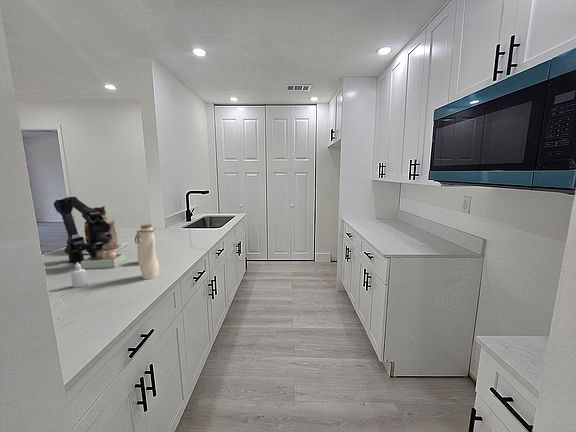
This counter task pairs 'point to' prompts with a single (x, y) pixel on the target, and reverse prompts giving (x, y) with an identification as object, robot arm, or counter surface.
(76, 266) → the eye dropper bottle
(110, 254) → the egg
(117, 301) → the counter surface
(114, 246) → the cookie jar
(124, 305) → the counter surface
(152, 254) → the water bottle
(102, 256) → the walnut cube
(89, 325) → the counter surface
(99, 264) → the box
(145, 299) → the counter surface
